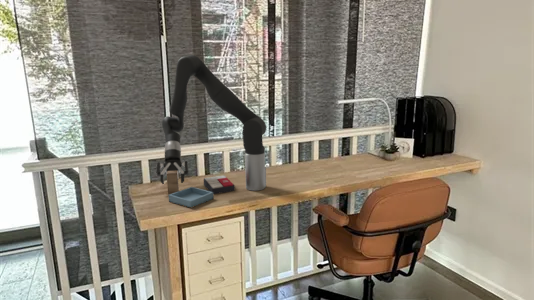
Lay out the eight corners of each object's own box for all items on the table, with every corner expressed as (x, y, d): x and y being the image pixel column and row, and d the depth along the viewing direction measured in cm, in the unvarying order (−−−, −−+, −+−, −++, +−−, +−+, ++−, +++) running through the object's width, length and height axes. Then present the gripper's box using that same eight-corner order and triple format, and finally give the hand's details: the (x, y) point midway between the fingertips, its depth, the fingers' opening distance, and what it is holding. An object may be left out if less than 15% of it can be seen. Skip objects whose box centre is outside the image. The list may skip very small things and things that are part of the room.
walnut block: (168, 191, 185) (167, 170, 183) (178, 190, 186) (177, 170, 183) (168, 194, 181) (166, 173, 178) (178, 194, 181) (176, 173, 179)
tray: (192, 192, 183) (191, 186, 182) (213, 198, 175) (213, 192, 174) (168, 201, 172) (168, 194, 171) (190, 208, 164) (190, 201, 164)
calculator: (212, 187, 180) (203, 176, 193) (212, 196, 181) (203, 185, 194) (235, 184, 184) (224, 174, 197) (235, 192, 185) (224, 182, 198)
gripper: (156, 149, 185) (155, 179, 176) (187, 147, 187) (187, 178, 179) (158, 157, 191) (157, 187, 183) (188, 155, 193) (188, 185, 185)
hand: (172, 182), depth 181 cm, fingers open, 8 cm apart
